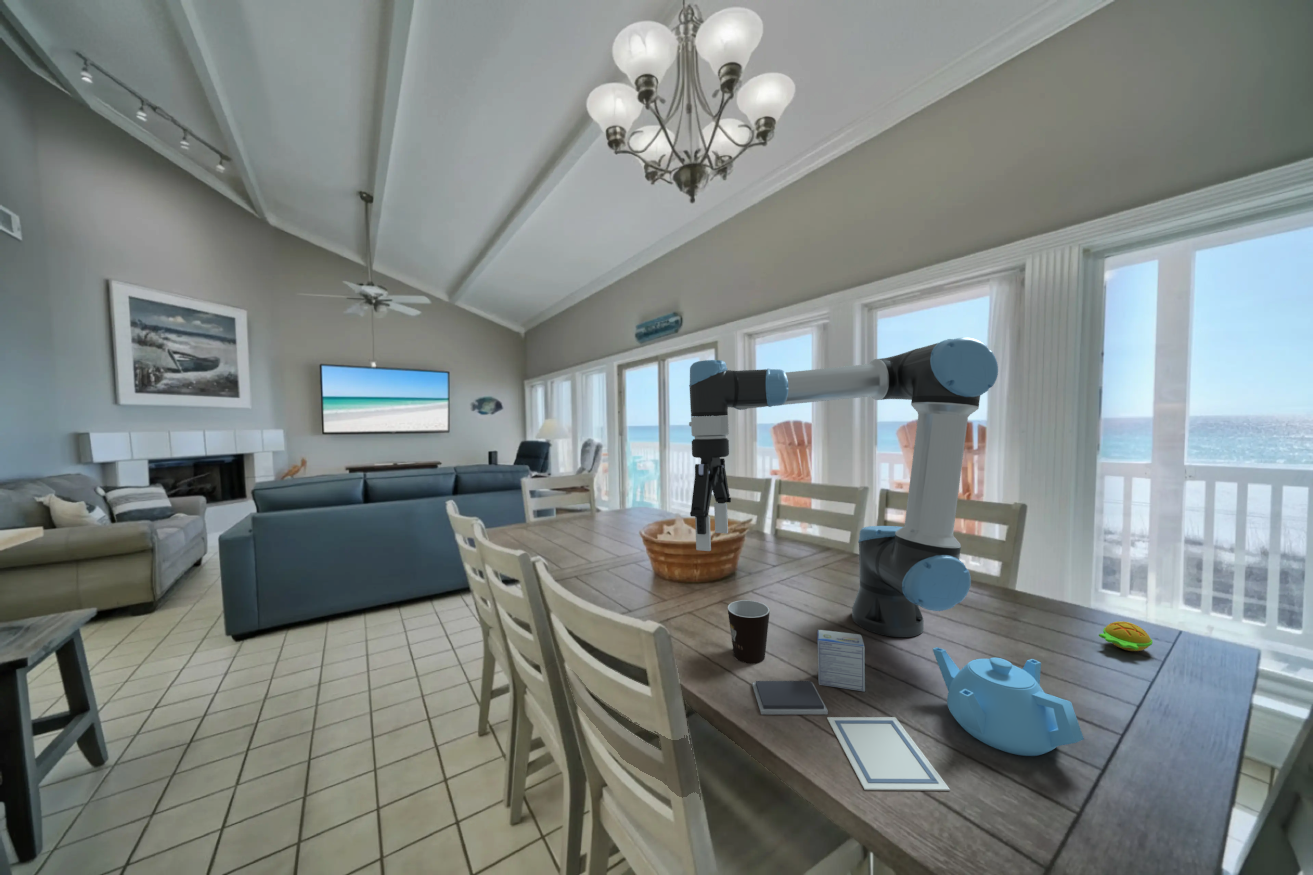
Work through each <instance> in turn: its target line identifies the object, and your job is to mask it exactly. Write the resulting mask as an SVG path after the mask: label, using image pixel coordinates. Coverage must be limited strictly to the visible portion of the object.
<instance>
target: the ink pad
mask: <svg viewBox="0 0 1313 875" xmlns="http://www.w3.org/2000/svg"><path fill="white" fill-rule="evenodd" d="M752 688H753V692H754V696H755V698H756V701H757V706H758V708H759V711H760V715H828V714H829V711H828V708H827V706H826V705H825V703H824V701H823V699H822V696H820V694H819V691H818V690H817V688H816V686H815V684H814V682H812V681H811V680H755V682H752Z"/></svg>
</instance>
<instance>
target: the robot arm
mask: <svg viewBox="0 0 1313 875" xmlns="http://www.w3.org/2000/svg"><path fill="white" fill-rule="evenodd" d="M998 375H999V366H998V361H997V358H996V356H995V354H994V353H993V351H992V350H990V349H989V347H988V345H986V344H985V343H983V342H982V341H980V340H978V339H975V338H972V337H958V338H957V337H956V338H947V339H944V340H942V341H940V342H937V343H933V344H930V345H926V346H922V347H919V348H915V349H912V350H909V351H906V352H902V353H899V354H897V355H893V356H889V357H883V358H874V359H872V360H871V361H870V362H869V363H866V364H858V365H857V364H856V365H847V366H837V367H827V368H815V369H806V370H805V369H804V370H798V371H796V370H795V371H788V372H787V371H786V372H785V371H784V370H783V369H777V368H776V369H773V368H772V369H771V368H767V369H766V368H765V369H747V370H746V369H745V370H742V369H741V370H731V369H729V370H728V367H727V363H726V362H725V361H724V360H721V359H717V360H716V359H708V360H707V359H705V360H699V361H696V362H693V363H692V364H691V365H690V367H689V385H688V386H689V400H690V401H689V402H690V403H689V405H690V422H688V426H689V427H691V436H692V437H694V438H693V439H692V440H691V455H692V457H693V458H697V459H699V458H700V463H695V465H694V479H693V480H694V481H693V488H692V498H691V500H692V501H691V506H690V507H691V508H690V512H689V516H690V517H693V518H695V519H694V520H695V521H694V522H695V527H694V528H695V548H696V551H705V552H710V551H712V544H711V542H712V539H711V516H709V512H710V505H711V501H712V494H713V496H714V499H715V502H714V504H713V505H714V506H713V507H714V533H715V534H728V533H729V527H728V526H729V524H728V523H729V521H728V520H729V519H728V517H729V516H728V503H729V504H730V503H732V502H731V501H732V498H731V497H730V496H731V495H730V491H729V484H728V478H727V471H726V464H725V462H726V459H725V457H728V456H729V455H730V444H729V441H730V440H729V438H727V436H728V435H729V434H730V431H729V415H728V414H729V413H728V412H729V411H728V409H729V408H733V409H736V410H737V411H738V410H740V411H743V410H747V409H748V410H749V409H756V408H767V407H768V408H772V407H779V406H786V405H795V404H806V403H816V402H817V403H818V402H826V401H827V402H828V401H836V400H838V401H839V400H849V399H857V398H868V397H869V398H870V397H871V398H872V399H873V400H875V401H882V400H883V401H884V400H908V401H909V400H910V401H911V403H910V406H911V407H912V408H913V409H914V410H915V411H916V412H917V415H918V416H917V423H916V430H915V440H914V447H913V454H912V455H913V456H912V460H911V461H912V463H911V470H910V477H909V478H910V479H909V480H910V481H909V485H908V486H909V487H908V496H907V500H906V501H907V503H906V509H905V510H906V511H905V518H904V525H903V526H896V525H872V526H871V525H869V526H865V527H862V528H861V529H860V531H859V537H858V553H859V554H858V556H859V557H858V559H859V562H858V563H859V564H858V565H859V566H858V567H859V569H858V570H859V588H858V590H857V591H858V592H856V593H857V594H856V596H855V598H854V602H853V605H852V606H851V609H852V610H851V612H852V613H851V614H852V615H851V618H852V621H853V622H854V623H855V624H856V625H857V626H859V627H860V628H862V629H864V630H866V631H869V632H871V633H875V634H878V635H882V636H885V637H887V636H888V637H894V638H911V637H915V636H919V635H921V634H923V632H924V629H925V628H924V626H925V625H924V616H923V614H922V612H921V611H922V610H921V608H923V609H925V610H927V611H930V612H931V611H932V612H941V611H942V612H944V611H948V610H951V609H952V608H955V606H956V605H958V604H960V603H961V602H963V601H964V600H965V598H966V597H967V595H968V593H969V591H970V589H971V584H972V577H971V574H970V573H971V572H970V571H969V569H968V568H967V567H966V564H964V562H962V561H961V560H960V556H961V548H962V546H961V545H962V544H961V543H960V542H959V541H958V539H957V538H956V537H955V536H954V529H955V523H956V521H955V520H956V514H957V506H958V499H959V492H960V483H961V475H962V474H961V473H962V466H963V459H964V451H965V445H966V436H967V428H968V421H969V417H970V416H971V415H972V414H973V413H975V412H976V411H978V410H979V409H980V408H979V407H980V401H981V396H982V395H983V394H985V393H987V392H988V391H989V390H990V388H993V387H994V384H995V383H996V381H997V378H998Z"/></svg>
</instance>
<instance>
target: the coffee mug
mask: <svg viewBox="0 0 1313 875" xmlns="http://www.w3.org/2000/svg"><path fill="white" fill-rule="evenodd" d="M770 612H771V610H770V607H769V605H767V604H765V603H763V602H761V601H760V602H759V601H757V600H749V599H741V600H736V601H732V602H730V603H729V604H728V605H727V615H728V622H729V629H730V637H731V642H732V643H731V644H732V651H733V657H734V658H735V659H736V660H737V661H739V662H741V663H744V664H748V665H756V664H760V663H762V662H764V660H765V659H766V650H767V643H768V642H767V639H768V633H769V632H768V631H769V621H770V614H771V613H770Z"/></svg>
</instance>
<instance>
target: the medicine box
mask: <svg viewBox="0 0 1313 875" xmlns="http://www.w3.org/2000/svg"><path fill="white" fill-rule="evenodd" d="M865 650H866V649H865V643H864V639H863V637H862V635H861V634H860V633H859V634H857V633H850V632H843V631H835V630H834V631H832V630H824V629H817V675H818V678H817V679H818V680H817V681H818V685H819V686H825V687H832V688H837V689H838V688H840V689H846V690H852V691H859V692H865V691H866V681H865V680H866V678H865V676H866V674H865V673H866V672H865V670H866V669H865V664H866V661H865V655H866V654H865Z"/></svg>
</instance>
